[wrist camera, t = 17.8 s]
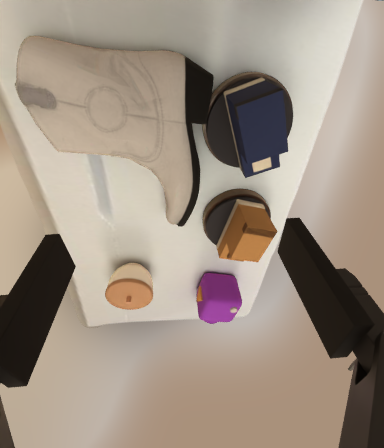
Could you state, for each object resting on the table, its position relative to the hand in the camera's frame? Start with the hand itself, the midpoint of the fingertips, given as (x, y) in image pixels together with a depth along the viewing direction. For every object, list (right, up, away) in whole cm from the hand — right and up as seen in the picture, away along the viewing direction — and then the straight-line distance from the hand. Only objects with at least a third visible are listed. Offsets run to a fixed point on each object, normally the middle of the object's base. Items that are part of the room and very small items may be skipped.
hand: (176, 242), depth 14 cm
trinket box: (-14, -11, +47) cm, 50 cm away
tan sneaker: (+11, +1, +36) cm, 38 cm away
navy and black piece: (+10, +17, +24) cm, 31 cm away
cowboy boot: (-10, +15, +26) cm, 32 cm away
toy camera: (+7, -16, +53) cm, 56 cm away
